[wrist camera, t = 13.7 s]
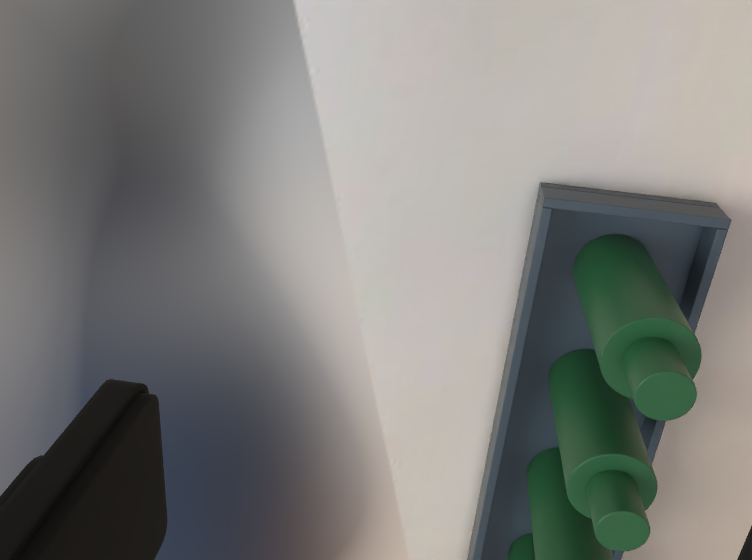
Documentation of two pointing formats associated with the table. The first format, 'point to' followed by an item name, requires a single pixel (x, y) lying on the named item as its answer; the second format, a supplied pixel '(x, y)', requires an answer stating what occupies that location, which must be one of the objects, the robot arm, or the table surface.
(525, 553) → the bottle
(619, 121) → the table surface
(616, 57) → the table surface
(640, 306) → the loose bottle
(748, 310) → the table surface
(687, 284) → the tray
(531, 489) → the bottle
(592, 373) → the bottle
